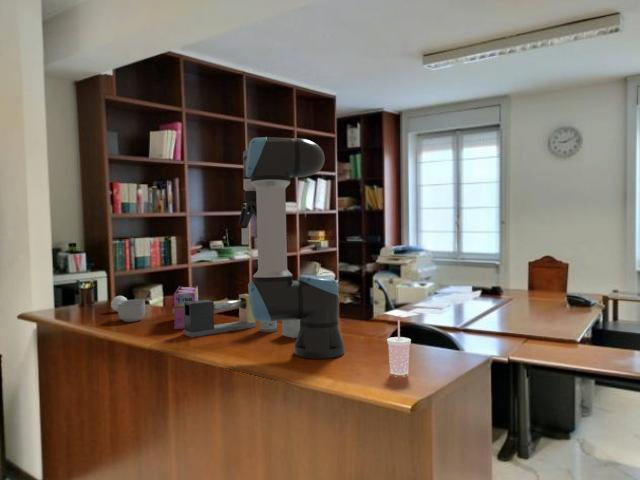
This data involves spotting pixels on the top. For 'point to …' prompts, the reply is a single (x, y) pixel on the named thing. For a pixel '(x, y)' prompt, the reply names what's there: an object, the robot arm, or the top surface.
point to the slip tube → (229, 304)
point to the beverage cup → (399, 353)
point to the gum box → (179, 298)
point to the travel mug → (268, 326)
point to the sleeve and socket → (211, 314)
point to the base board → (221, 329)
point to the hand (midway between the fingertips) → (254, 245)
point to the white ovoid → (116, 300)
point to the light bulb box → (290, 328)
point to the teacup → (131, 310)
